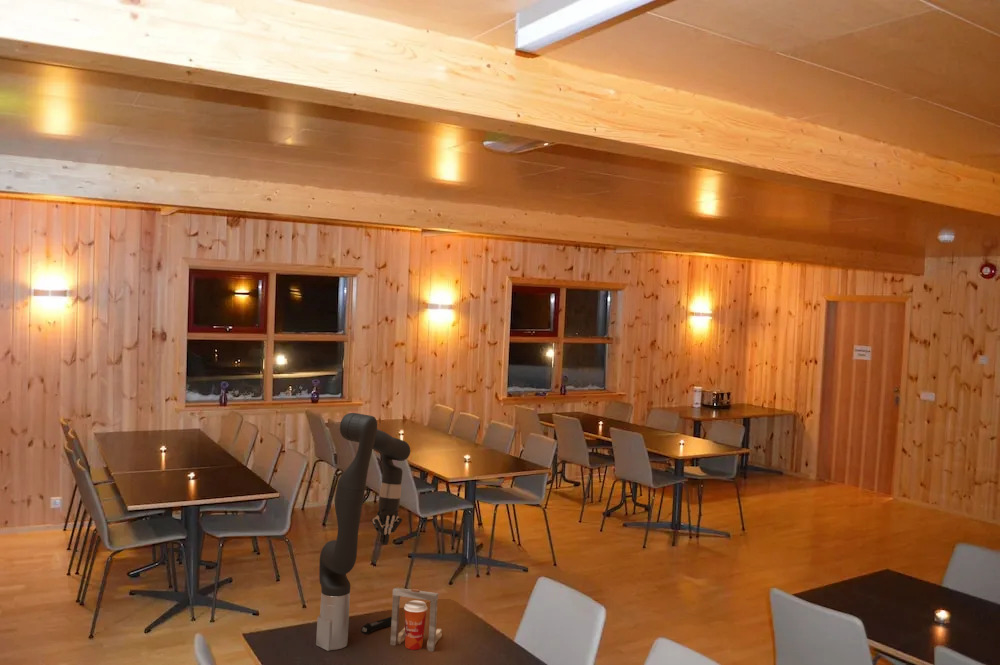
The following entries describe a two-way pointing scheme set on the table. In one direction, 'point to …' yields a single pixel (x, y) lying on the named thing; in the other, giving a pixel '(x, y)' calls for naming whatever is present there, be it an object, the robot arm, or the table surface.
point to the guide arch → (398, 638)
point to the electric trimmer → (376, 625)
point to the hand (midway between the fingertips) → (383, 544)
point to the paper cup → (414, 624)
